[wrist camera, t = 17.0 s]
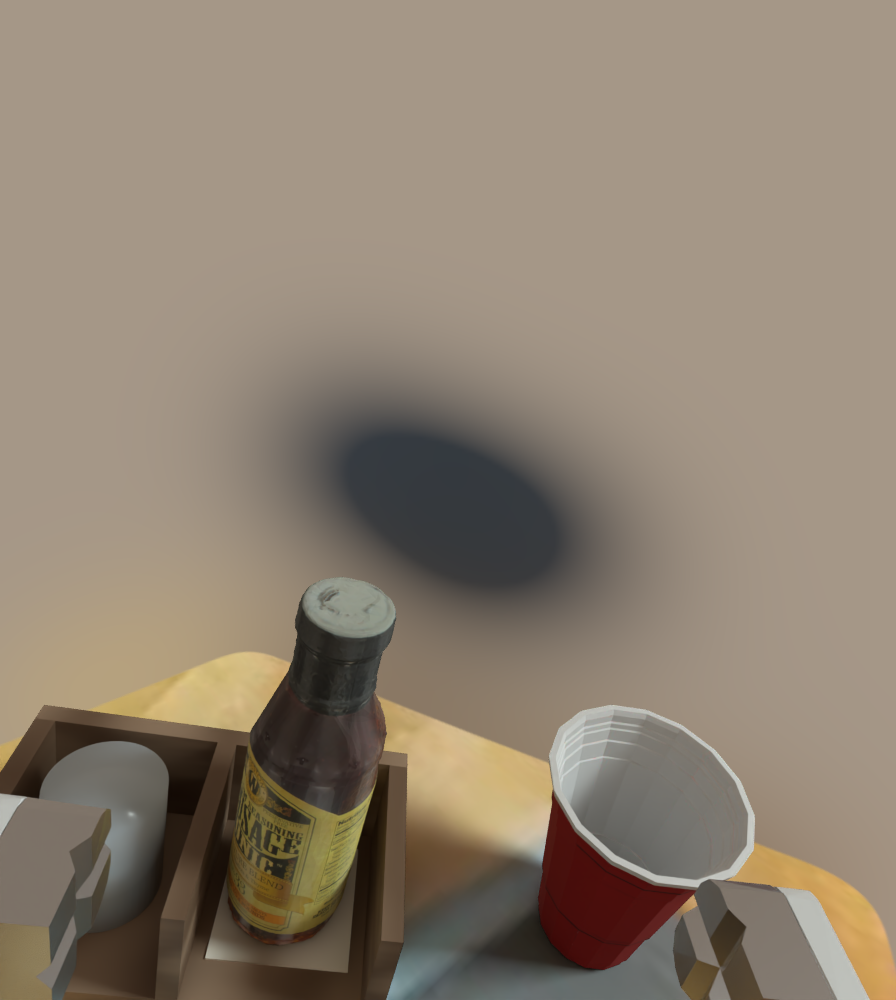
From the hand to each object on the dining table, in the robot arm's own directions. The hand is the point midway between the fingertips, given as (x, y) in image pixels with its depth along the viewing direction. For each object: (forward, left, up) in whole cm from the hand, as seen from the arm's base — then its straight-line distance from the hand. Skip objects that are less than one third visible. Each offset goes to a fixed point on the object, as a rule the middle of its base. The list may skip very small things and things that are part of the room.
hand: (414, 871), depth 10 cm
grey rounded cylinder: (-11, +19, -29) cm, 36 cm away
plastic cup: (+16, +20, -30) cm, 40 cm away
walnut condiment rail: (-6, +19, -30) cm, 36 cm away
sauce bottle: (-1, +19, -29) cm, 35 cm away
